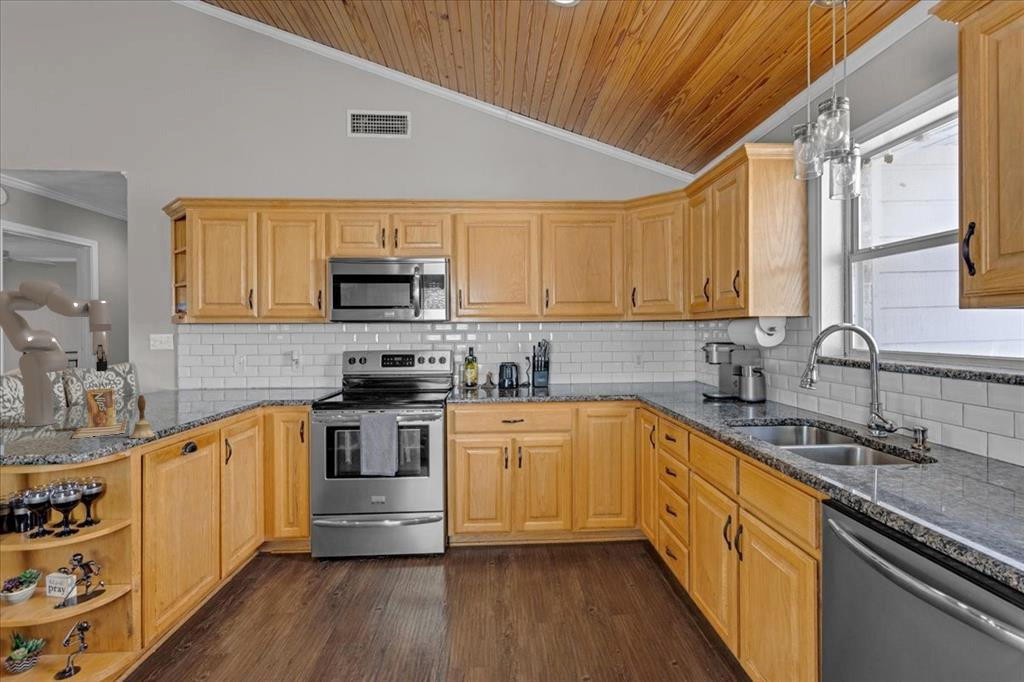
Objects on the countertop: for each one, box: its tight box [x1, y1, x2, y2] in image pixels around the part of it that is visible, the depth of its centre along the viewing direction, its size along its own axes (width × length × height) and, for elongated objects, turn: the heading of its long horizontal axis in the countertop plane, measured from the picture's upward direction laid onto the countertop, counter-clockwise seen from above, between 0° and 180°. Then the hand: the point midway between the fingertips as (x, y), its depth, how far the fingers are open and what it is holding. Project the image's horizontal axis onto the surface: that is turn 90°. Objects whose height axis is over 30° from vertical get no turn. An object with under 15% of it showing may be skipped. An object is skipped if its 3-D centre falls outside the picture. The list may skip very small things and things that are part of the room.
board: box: [72, 421, 128, 439], centre depth 219 cm, size 22×16×2 cm
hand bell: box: [129, 394, 156, 439], centre depth 208 cm, size 8×8×16 cm
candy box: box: [85, 387, 117, 428], centre depth 224 cm, size 9×4×15 cm, turn 114°
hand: (102, 370), depth 231 cm, fingers open, 6 cm apart
